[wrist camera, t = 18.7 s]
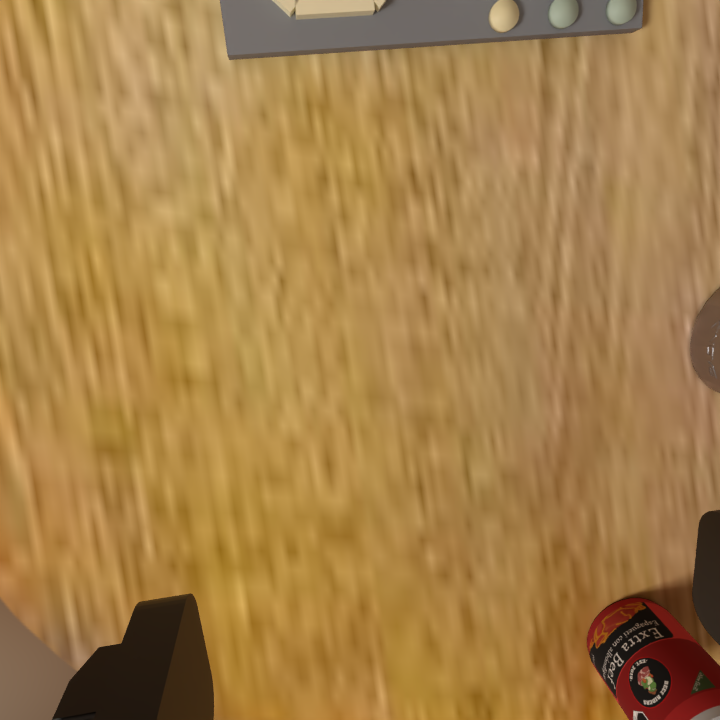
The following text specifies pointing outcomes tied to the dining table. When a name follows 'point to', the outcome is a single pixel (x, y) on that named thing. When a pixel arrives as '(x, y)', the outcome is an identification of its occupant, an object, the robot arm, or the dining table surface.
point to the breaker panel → (411, 23)
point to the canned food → (653, 663)
